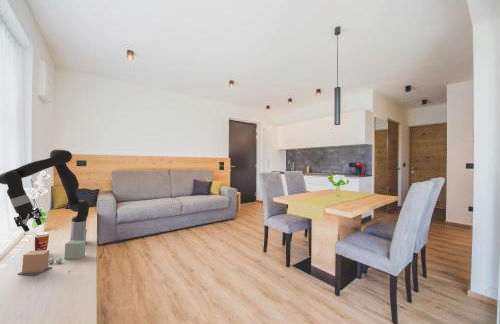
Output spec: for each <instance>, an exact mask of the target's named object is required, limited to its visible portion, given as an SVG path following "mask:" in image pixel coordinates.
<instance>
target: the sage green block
mask: <svg viewBox="0 0 500 324" xmlns="http://www.w3.org/2000/svg"><path fill="white" fill-rule="evenodd" d="M86 244H87V240H86V241H70V240H69V241H68V242H66V243H65V246H64V254H63V255H64V257H63V258H64V260H80V259H82V258H83V257H85V256H86Z"/></svg>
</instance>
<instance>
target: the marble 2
mask: <svg viewBox="0 0 500 324" xmlns="http://www.w3.org/2000/svg"><path fill="white" fill-rule="evenodd" d="M62 261H63V258H62V257H58V258H57V259H56V260H55V262H56V264H61V262H62Z"/></svg>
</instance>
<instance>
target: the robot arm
mask: <svg viewBox="0 0 500 324" xmlns="http://www.w3.org/2000/svg"><path fill="white" fill-rule="evenodd" d="M72 157H73V154H72V153H71V151H70V150H66V149H52V150H51V151H50V153H49V157H47V158H45V159H40V160H36V161H32V162H28V163H26V164H23V165H20V166H18V167H16V168H15V169H14V168H13V169H12V170H8V171H5V172H3V173H0V184H1V185H6V186H7V188H8V189H7V190H6V194H7V197H8V198H9V200H10V202H11V203H10V204H11V205H12V208H13V209H14V211H15V214H18V216H14V217H13V220H14V222H15V224H16V227H17V228H19V227H20V228H22V230H23V231H24V232H25V233H26V232H29V231H30V228H29V226H28V222H29V220H30V219H33V220H34V221H35V222H36V223H35V224H36V225H37V226H40V225H42V221H41V217H42V216H43V214H42V213H41V211H40V208H39V207H35V208H34V206H33V204H32V201H31V199H30V197H29V195H28V194H27V192H26V191H25V189H24V185H23V179H24V178H26V177H30V176H32V175H36V174H37V173H41V172H42V171H44V170H47V169H49V168H52V167H54V168H55V170H56V172H57V175H58V177H59V179H60V182H61V184H62V185H61V186H62V187H63V189H64V192H65V194H66V198H67V200H68V201H67V202H68V205H69V206H68V207H69V209H70V210H71V211H72V212H74V213H75V212H76V214H77V215H76V216H73V217H72V218H71V227H70V237H69V239H70V240H69V242H70V241H86V242H87V231H88V229H87V221H88V220H87V219H88V217H89V211H90V210H89V209H90V202H89V201H88V200H85V199H84V200H83V199H80V198H79V196H78V189H79V188H80V183H79V181H78V178H77V175H76V174H75V173H74V172H73V171H72V170H71V169H70V168H69V167H68V165H67V163H69V162H70V161H72V159H73V158H72Z"/></svg>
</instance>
